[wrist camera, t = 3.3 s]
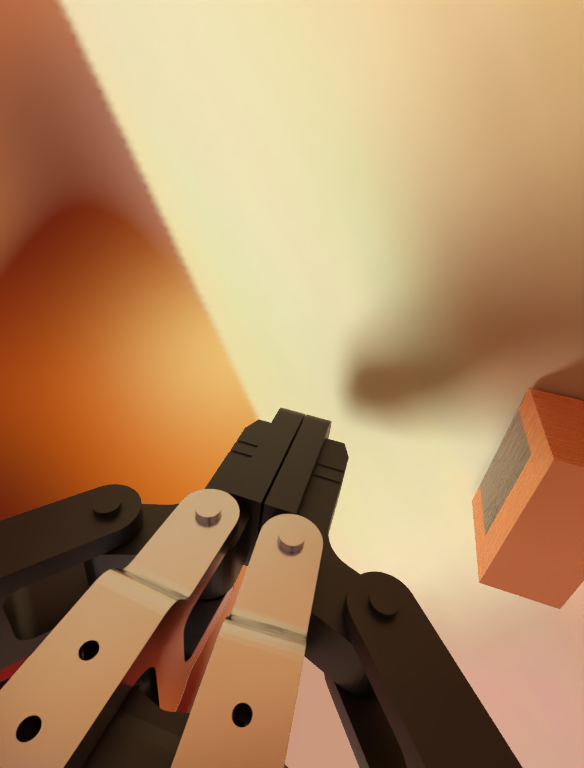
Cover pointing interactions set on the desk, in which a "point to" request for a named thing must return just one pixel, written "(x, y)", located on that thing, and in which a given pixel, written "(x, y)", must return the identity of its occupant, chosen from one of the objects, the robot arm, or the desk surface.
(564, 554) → the bar
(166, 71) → the desk surface
